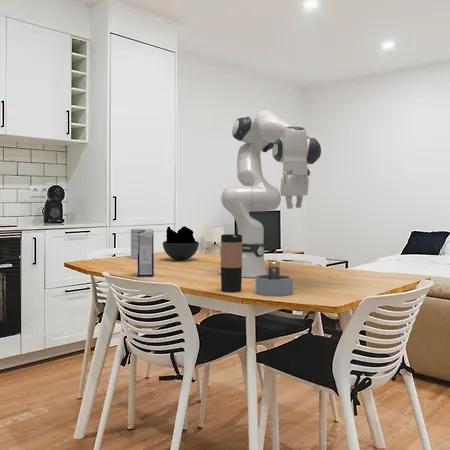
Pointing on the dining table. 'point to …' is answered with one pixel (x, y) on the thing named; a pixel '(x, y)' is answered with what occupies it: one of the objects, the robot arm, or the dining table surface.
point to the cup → (274, 285)
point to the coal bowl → (180, 244)
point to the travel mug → (231, 262)
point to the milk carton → (146, 253)
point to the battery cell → (273, 269)
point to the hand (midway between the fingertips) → (294, 208)
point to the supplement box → (135, 242)
